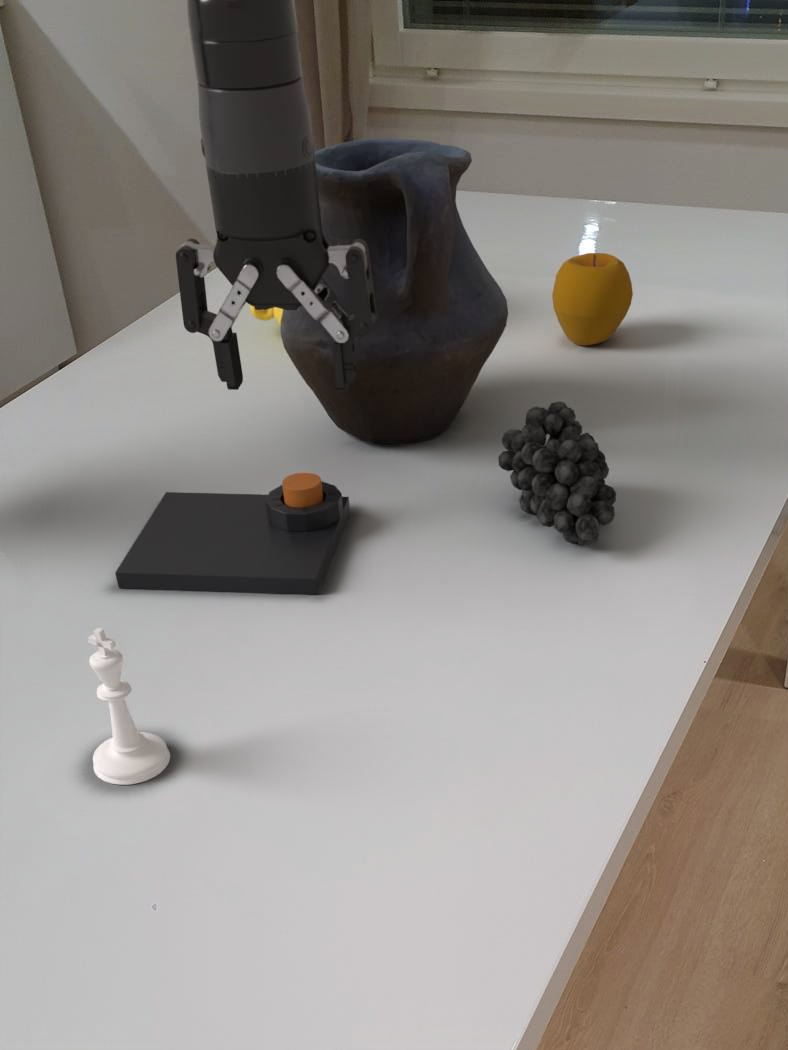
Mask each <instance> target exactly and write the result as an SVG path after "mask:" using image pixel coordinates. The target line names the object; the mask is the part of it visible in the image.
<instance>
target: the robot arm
mask: <svg viewBox="0 0 788 1050" xmlns="http://www.w3.org/2000/svg"><path fill="white" fill-rule="evenodd" d="M186 12H187V13H186V14H187V23H188V30H189V37H190V44H191V51H192V59H193V64H194V70H195V71H194V72H195V78H196V82H197V85H196V86H197V93H198V121H199V128H200V135H201V138H200V146H201V153H202V156H203V157H204V162H205V169H206V176H207V181H208V187H209V192H210V193H209V194H210V201H211V207H212V214H213V221H214V228H215V233H216V243H215V244H203V243H200V242H199V241H198V240H197V239H195V238H188V239H187V240H186V241H184V243H182V244H181V246H180V247H179V248H178V249H177V251H176V252H175V262H176V271H177V279H178V287H179V297H180V305H181V313H182V321H183V327H184V329H185V330H186V332H189V333H190V334H195V333H199V334H202V335H205V336H207V337H208V338H209V339H210V340H211V343H212V346H213V353H214V360H215V365H216V372H217V376H218V378H219V380H220V382H222V383H226V387H227V388H226V389H227V390H230V391H231V390H232V391H234V390H235V391H237V390H239V389H240V387H241V385H242V384H243V381H244V374H243V367H242V362H241V361H242V360H241V354H240V349H239V347H240V346H239V341H238V340H239V339H238V335H237V332H233V328H232V327H233V326H234V324H235V322H236V320H237V318H238V317H239V315H240V313H241V312H242V310H243V308H244V307H245V305H246V303H247V305H249V306H250V305H251V306H254V307H255V310H267V309H270V308H274V307H277V308H281V309H284V310H297V308H298V307H301V306H304V308H305V309H306V310H307V311H308V313H309V314H310V315H311V316H312V317H313V318H314V319H315V320H316V321H319V322H320V323H321V324H322V325H323V327H324V328H325V329H326V330H327V331H328V333H329V334H330V335H331V336H332V337H333V339H334V340H333V342H332V354H333V364H334V374H335V384H336V390H337V391H347V389H348V386H349V384H352V382H353V380H354V378H355V376H356V373H357V363H356V351H355V339H354V338H355V337H356V336H359V335H361V334H362V335H366V334H369V333H370V331H371V330H372V327H373V325H374V323H375V321H376V319H377V310H376V302H375V295H374V288H373V280H372V273H371V266H370V258H369V251H368V245H367V243H366V242H365V241H364V240H362V239H357V240H355V241H354V242H353V243H352V245H340V246H329V245H328V243H327V242H326V240H325V238H324V235H323V232H322V224H321V214H320V204H319V194H318V184H317V174H316V164H315V155H314V152H315V145H314V135H313V126H312V125H313V124H312V118H311V111H310V107H309V102H308V97H307V93H306V89H305V88H306V87H305V82H304V81H305V80H304V76H303V66H302V57H301V56H302V55H301V47H300V37H299V27H298V19H297V13H296V6H295V0H186ZM213 263H214V264H215V267H216V268H217V269H218V270H219V271H220V273H221V274H222V275H223V276H224V277H225V279H226V280H227V281H228V282H229V284H230V285H231V286H232V287H231V289H230V290H229V292H228V293H227V295H226V297H225V299H224V300H223V303H222V305H221V306H220V308H219V310H218V312H217V313H215V312H212V311H209V310H208V299H207V291H206V290H207V289H206V282H205V281H206V279H205V276H207V274H208V273H209V272H210V271H211V267H212V264H213ZM330 263H332V264H334V265H335V266H336V267H337V268H338V270H339V273H340V275H341V276H342V277H343V278H345V279H349V285H350V292H351V299H352V306H353V312H354V314H352V315H349V314H348V313H347V311H346V310H345V309H344V308H343V307H342V305H341V304H340V303H339V302H338V300H337V296H336V294H335V293H334V292H333V290H332V289H331V288H330V287H329V285H328V284H327V283H326V282H325V280H324V279H323V278H322V276H323V274H324V272H325V271H326V269H327V267H328V266H329V264H330ZM320 289H321V290H320Z"/></svg>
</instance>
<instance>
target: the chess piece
mask: <svg viewBox="0 0 788 1050" xmlns="http://www.w3.org/2000/svg"><path fill="white" fill-rule="evenodd" d="M87 641H88V644H89V645H93V646H96V647H97V650H96V651H95V652H94V653H93V654H92V655H90V657H89V660H88V662H89V663H88V664H89V665H90V667H91V668H92V670H93V671H94V673H95V674H96V675H97V677H98V679H99V680H100V681H101V682H102V683H100V685H98V687H97V689H96V696H97V698H98V699H100V701H104V702H108V708H109V714H110V724H111V734H112V737H110V738H108V739H106V740H105V741H103V742H102V743H101V744H99V746H98V747H97V748H96V749H95V751H94V753H93V756H92V764H93V772H94V774H95V776H97V777H98V778H99V779H100V780H101V781H103V782H106V783H108V784H112V785H118V786H119V785H121V786H125V785H126V786H128V785H129V786H130V785H136V784H139V783H143V782H146V781H149V780H151V779H153V778H155V777H157V776H159V774H161V773H162V772H163V771H164V770H165V769H166V768H167V767H168V765H169V763H170V760H171V753H170V750H169V748H168V746H167V743H166V741H165V740H164V739H163V738H162V737H160V736H158V735H156V734H154V733H152V732H148V731H138V729H137V727H136V725H135V722H134V719H133V717H132V715H131V712H130V710H129V707H128V705H127V702H126V699H125V698H127V697H129V696H130V694H131V693H132V686H131V684H130V683H129V681H126V680H125V679H121V677H122V667H123V664H124V663H123V661H124V656H123V654H122V653H121V651H119V650H117V649H114V648H116V646H117V645H116V640H115V639H113V638H108V637H107V636H106V632H105V628H103V627H97V628H95V629H94V630H93V633H92V634H90V635H89V636H87Z"/></svg>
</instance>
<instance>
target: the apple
mask: <svg viewBox="0 0 788 1050" xmlns="http://www.w3.org/2000/svg"><path fill="white" fill-rule="evenodd" d="M551 294H552V295H551V298H552V299H551V300H552V305H553V310H554V314H555V316H556V319H557V321H558V323H559V325H560V328H561V329H562V331H563V334H564V335H565V336H566V338H567V339H568V340H569V341H570V342H571V343H573V344H575V345H578V346H590V345H592V346H593V345H597V344H600V343H604V342H605V341H607V340H608V339H610V338H611V337H612V335H614V333H615V332H616V331H617V329H619V326H620V325H621V324H622V322H623V321H624V319H625V318H626V315H627V314H628V312H629V310H630V307H631V305H632V300H633V294H634V291H633V284H632V279H631V276H630V273H629V271H628V269H627V267H626V265H625V263H624V262H623V261H622V260H621V259H619V258H618V257H616V256H615V255H612V254H609V253H602V252H587V253H584V254H580V255H576V256H572V257H570V258H568V259H566V260H565V261H564V262H563V263H562V264H561V266H560V267H559V269H558V271H557V272H556V274H555V279H554V284H553V289H552V293H551Z"/></svg>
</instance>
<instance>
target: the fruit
mask: <svg viewBox="0 0 788 1050" xmlns="http://www.w3.org/2000/svg"><path fill="white" fill-rule="evenodd" d="M576 419H577V415H576V412H575V410H574V409H573V408H571V407H569V406H568V405H567V404H566V403H565V402H563V401H555V402H551V403H550V405H549V406H548V408H546V407H539V406H533V407H532V408H530V409H528V410H527V412H526V414H525V424H524V425H523V427H522V430H520V429H512V428H510V429H507V431H505V432H503V435H502V437H501V443H502V446H503V447H504V448H505V450H504V451H503V450H502V452H501V453H500V454H499V456H498V457H497V460H498V466H499V467H500V468H501V469H502V470H505V471H507V472H511V471H512V472H511V474H510V476H509V478H510V482H511V484H512V486H513V487H514V488H516V489H517V490H519V491H521V495H520V497H519V500H518V502H519V505H520V509H521V510H522V511H523V512H526V513H527V514H535V515H536V518H537V519H538V521H539V523H540V524H541V526H544V527H549V528H551V527H554V529H555V530H556V531H557V532H559V533H560V534H562V537H563V539H564V541H566V542H569V543H571V544H574V543H578V544H579V545H580V546H587V547H590V546H592V545H593V544H595V543H596V542H597V541H598V540H599V537H600V533H599V532H600V528H601V526H603V527H604V526H607V525H609V524H611V523H612V522H613V520H614V518H615V516H616V513H615V507H614V506H613V505H614V504H615V503H616V501H617V491H616V490H615V489H614V487H613V486H611V485H609V484H606V481H605V479H607V477H608V476H609V472H610V468H609V466H608V465H609V464H608V463H607V461H606V459H607V457H606V455H605V454H604V452H603V451H602V450H600V448H599V443H597V442H596V439H595V438H594V435H592V434H591V433H589V432H584V433H583V425H582V424H581V422H580V421H579V420H576ZM547 435H548V436H549V437H548V438H547Z"/></svg>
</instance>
